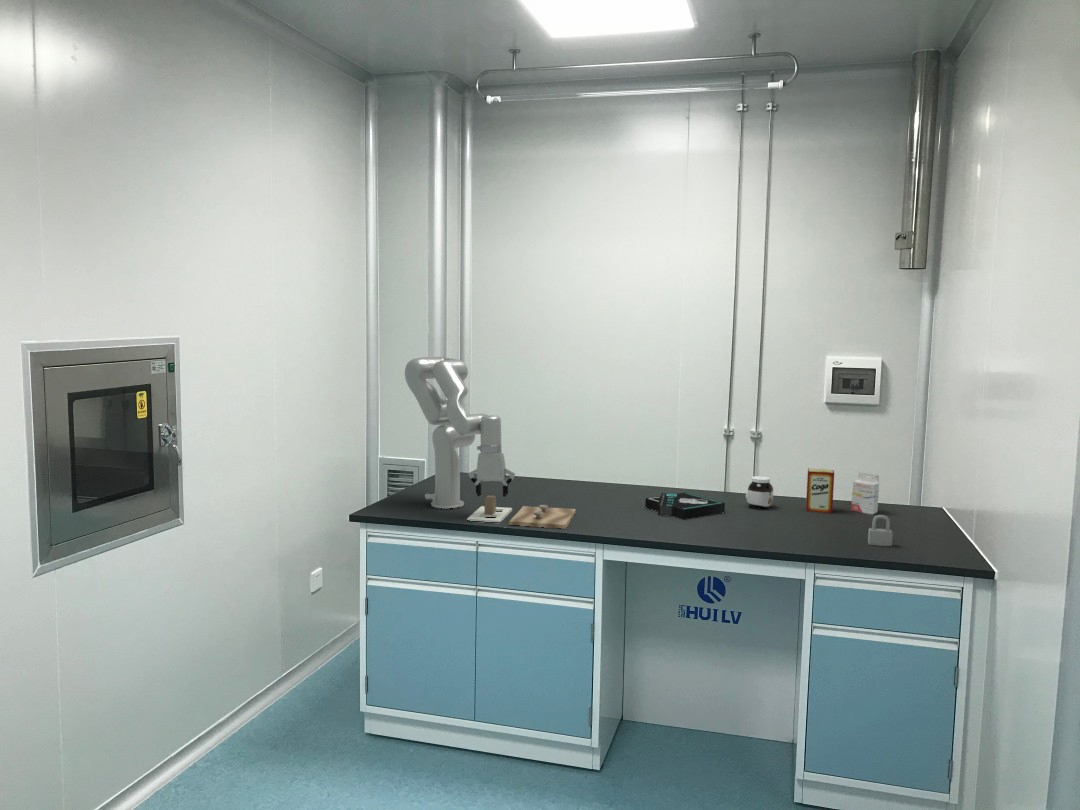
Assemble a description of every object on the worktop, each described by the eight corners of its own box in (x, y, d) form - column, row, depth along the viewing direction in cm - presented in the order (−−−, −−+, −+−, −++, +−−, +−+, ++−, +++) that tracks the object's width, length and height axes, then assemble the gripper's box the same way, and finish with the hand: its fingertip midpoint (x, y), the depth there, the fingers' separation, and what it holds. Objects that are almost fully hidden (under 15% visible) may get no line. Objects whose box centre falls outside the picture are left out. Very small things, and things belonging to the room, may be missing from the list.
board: (509, 525, 291) (509, 515, 290) (523, 509, 314) (523, 500, 314) (565, 529, 287) (565, 518, 287) (575, 512, 311) (575, 503, 310)
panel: (466, 521, 296) (466, 502, 295) (481, 508, 315) (481, 490, 315) (499, 523, 294) (499, 504, 293) (512, 510, 313) (512, 492, 312)
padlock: (869, 545, 272) (870, 515, 271) (867, 542, 276) (869, 512, 275) (892, 547, 270) (894, 517, 269) (890, 544, 274) (892, 514, 273)
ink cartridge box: (850, 510, 320) (852, 473, 318) (855, 508, 324) (857, 471, 322) (872, 514, 314) (875, 476, 313) (877, 512, 318) (880, 474, 316)
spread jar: (760, 510, 318) (762, 481, 317) (736, 505, 327) (737, 476, 325) (778, 506, 326) (779, 477, 325) (753, 501, 334) (755, 472, 333)
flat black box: (642, 517, 306) (725, 523, 300) (642, 507, 306) (725, 512, 300) (648, 500, 335) (723, 504, 330) (648, 490, 335) (724, 494, 329)
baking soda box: (806, 511, 318) (808, 470, 317) (805, 507, 325) (807, 467, 323) (832, 513, 316) (834, 472, 314) (831, 509, 322) (833, 468, 320)
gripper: (465, 450, 300) (466, 497, 301) (512, 451, 296) (512, 498, 298) (470, 447, 307) (472, 493, 308) (516, 448, 304) (517, 494, 305)
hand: (492, 495), depth 303 cm, fingers open, 9 cm apart
